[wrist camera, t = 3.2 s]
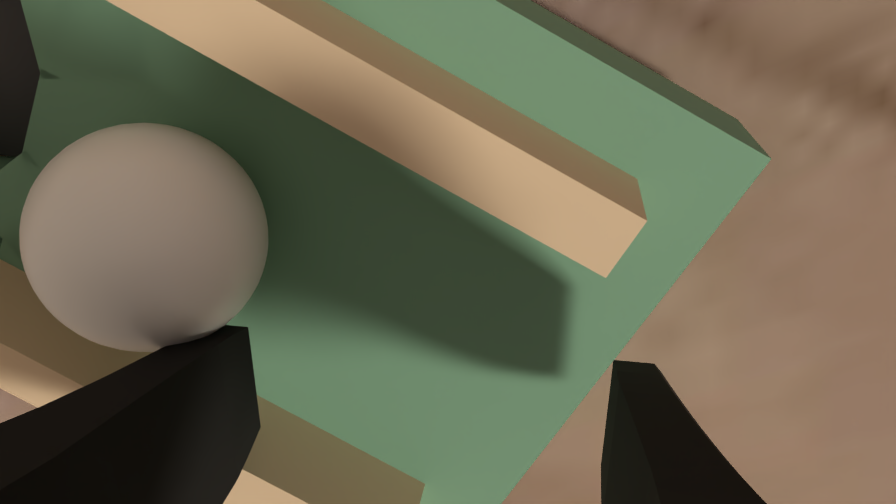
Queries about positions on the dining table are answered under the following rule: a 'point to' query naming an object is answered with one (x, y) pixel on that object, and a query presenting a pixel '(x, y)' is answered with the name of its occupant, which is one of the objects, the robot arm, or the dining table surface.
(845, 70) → the dining table surface
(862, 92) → the dining table surface
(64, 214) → the ball
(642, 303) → the board
